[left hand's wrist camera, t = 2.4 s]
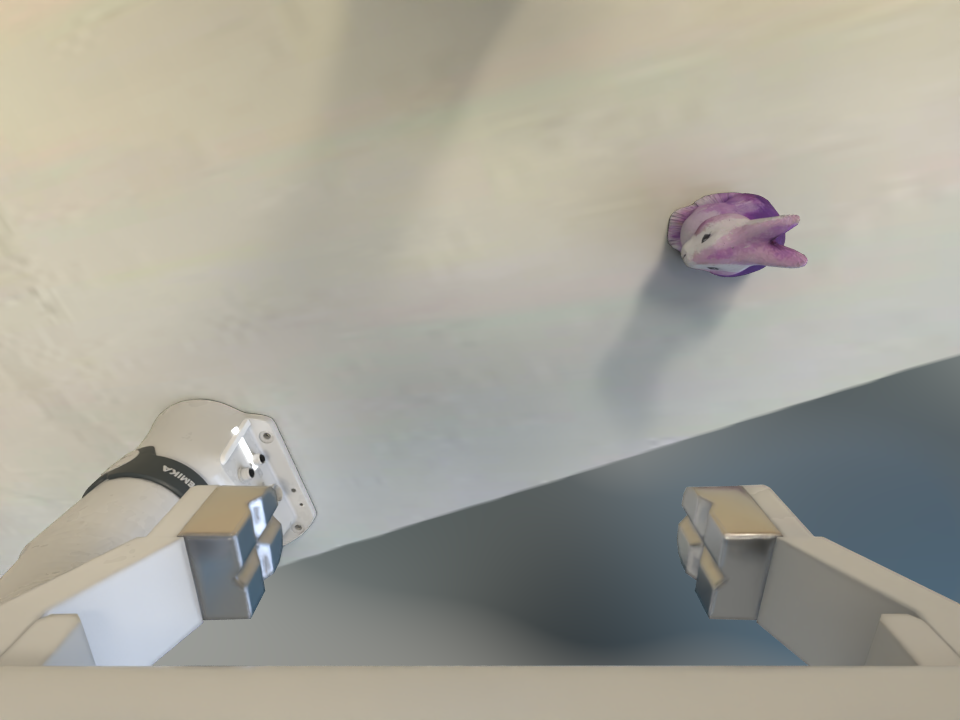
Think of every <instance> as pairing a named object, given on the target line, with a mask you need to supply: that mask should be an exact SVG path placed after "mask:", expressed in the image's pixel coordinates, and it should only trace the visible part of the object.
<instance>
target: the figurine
mask: <svg viewBox="0 0 960 720" xmlns="http://www.w3.org/2000/svg"><path fill="white" fill-rule="evenodd" d="M799 221H800V217H799V216H798V215H781V216H780V215H779V214H778V213H777V211H776V210H775V209H774V207H773V206H772V205H771V204H770V202H769V201H768V200H766V199H765V198H763V197H761V196H759V195H755V194H747V193H743V194H741V193H720V194H712V195H708V196H704V197H702V198H701V199H699V200H697V201H696V202H694V204H692V205H691V206H688V207H684V208H681V209H678V210H676V211H675V212H673V213H672V216H671V217H670V222H669V223H670V224H669V230H668V231H669V232H668V242H669V244H670V245H671V246H672V247H673V248H675V249H677V250H679V251H680V252H681V257H682V259H683V261H684V263H685V264H686V265H687V266H688V267H690V268H694V269H700V270H705V271H709V272H710V273H712V274H714V275H717V276H721V277H735V276H741V275H745V274H749V273H752V272H755V271H758V270H760V269H762V268H764V267H765V266H771V267H783V268H799V267H803V266H805V265H806V264H807V261H808V260H807V258H806V256H805V255H804V254H801V253H800V252H798V251H796V250H794V249H791V248H788V247H785V246H784V243H785V233H786V232H787V231H789V230H790V229H792V228H793V227H795V226H796V225H798V223H799Z"/></svg>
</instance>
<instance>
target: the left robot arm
mask: <svg viewBox="0 0 960 720" xmlns="http://www.w3.org/2000/svg"><path fill="white" fill-rule="evenodd" d="M277 507H278V500H277V495H276V491H275V490H274V489H273V488H272V487H271V486H233V485H222V486H220V485H197V486H193V487H191V488H190V489H189V490H188V491H187V492H186V493H185V494H184V495H183V496H182V497H181V498H180V500H179V501H178V502H177V503H176V504H175V505H174V506H173V507H172V508H171V509H170V511H169V512H168V513H167V514H166V515H165V516H164V517H163V518H162V519H161V520H160V522H159V523H158V524H157V525H156V526H155V527H154V528H153V529H152V530H151V532H150V533H149V534H148V535H147V536H146V537H136V538H134V539H132V540H130V541H128V542H126V543H124V544H122V545H120V546H118V547H116V548H114V549H111V550H109V551H107V552H105V553H103V554H101V555H99V556H97V557H95V558H93V559H91V560H89V561H87V562H85V563H83V564H81V565H79V566H77V567H75V568H73V569H71V570H68V571H66V572H64V573H62V574H60V575H58V576H56V577H54V578H52V579H50V580H48V581H46V582H44V583H42V584H40V585H38V586H36V587H34V588H32V589H30V590H28V591H25V592H23V593H21V594H19V595H17V596H15V597H13V598H11V599H9V600H7V601H5V602H3V603H1V604H0V720H960V604H959V603H957V602H955V601H953V600H951V599H948V598H946V597H944V596H942V595H940V594H938V593H936V592H934V591H932V590H930V589H928V588H926V587H924V586H922V585H920V584H918V583H916V582H914V581H912V580H910V579H908V578H906V577H904V576H902V575H899V574H897V573H895V572H893V571H891V570H889V569H887V568H885V567H883V566H881V565H879V564H877V563H875V562H873V561H871V560H869V559H867V558H865V557H863V556H861V555H859V554H857V553H855V552H853V551H850V550H848V549H846V548H844V547H842V546H840V545H838V544H836V543H834V542H832V541H830V540H828V539H826V538H824V537H814V536H813V535H812V534H811V533H810V532H809V530H808V529H807V528H806V527H805V526H804V525H803V524H802V523H801V522H800V521H799V519H798V518H797V517H796V516H795V515H794V514H793V513H792V512H791V511H790V509H789V508H788V507H787V506H786V505H785V504H784V503H783V502H782V501H781V500H780V498H779V497H778V496H777V495H776V494H775V493H774V492H773V491H772V490H771V489H770V488H769V487H767V486H765V485H743V486H717V487H687V488H686V490H685V492H684V494H683V500H682V507H683V508H684V510H685V512H686V513H687V516H686V517H685V518H684V519H683V520H682V521H681V522H680V523H679V525H678V533H677V545H678V554H679V557H680V560H681V564H682V566H683V568H684V570H685V572H686V573H687V574H688V575H690V576H691V577H692V578H694V579H695V580H697V581H696V588H695V592H696V594H697V596H698V598H699V600H700V601H701V603H702V605H703V607H704V609H705V611H706V613H707V615H708V617H709V619H735V620H757V623H758V624H759V625H760V626H762V627H763V628H764V629H765V630H766V631H768V632H769V633H770V634H771V635H772V636H774V637H775V638H776V639H777V640H778V641H780V642H781V643H782V644H783V645H785V646H786V647H787V648H788V649H789V650H791V651H792V652H793V653H794V654H795V655H797V656H798V657H799V658H800V659H801V660H803V661H804V662H805V663H806V664H808V665H809V666H152V665H153V664H154V663H155V662H156V661H158V660H159V659H160V658H161V657H162V656H164V655H165V654H166V653H167V652H168V651H170V650H171V649H172V648H173V647H174V646H176V645H177V644H178V643H179V642H181V641H182V640H183V639H184V638H185V637H187V636H188V635H189V634H190V633H191V632H193V631H194V630H195V629H196V628H197V627H199V626H200V625H201V624H202V623H203V620H224V619H251V617H252V615H253V613H254V611H255V609H256V607H257V605H258V604H259V602H260V600H261V598H262V596H263V594H264V592H265V587H264V581H263V580H265V579H266V578H268V577H269V576H270V575H272V574H273V573H274V572H275V570H276V568H277V566H278V564H279V561H280V557H281V552H282V548H283V532H282V525H281V523H280V522H279V521H278V520H277V519H276V518H275V517H274V516H273V513H274V512H275V510H276V508H277Z"/></svg>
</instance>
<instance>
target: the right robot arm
mask: <svg viewBox="0 0 960 720" xmlns="http://www.w3.org/2000/svg"><path fill="white" fill-rule="evenodd" d="M265 433H268V434H270V436H271V437H269V436H267V435H266V434H265ZM101 475H102V476H101V477H99V478H98V479H97V480H96V481H95V482H94V483H93V484H92V485H91V486H90V487H89V488H88V489H87V490H86V492H85V493H84V495H83V497H82V499H81V500H79V501H78V502H77V503H76V504H75V505H74V506H72V507H71V508H70V509H69V510H68V511H66V512H65V513H64V514H63V515H62V516H60V517H59V518H58V519H57V520H56V521H54V522H53V523H52V524H51V525H50V526H49V527H47V528H46V529H45V530H44V531H43V532H41V533H40V534H39V535H38V536H37V537H35V538H34V539H33V540H32V541H31V542H29V543H28V544H27V545H26V546H25V548H24V549H23V550H22V552H21V554H20V556H19V558H18V560H17V561H16V563H15V564H14V565H13V566H12V567H11V568H10V569H9V570H8V571H7V572H6V573H5V574H4V575H3V576H2V577H1V578H0V604H1V603H3V602H5V601H7V600H9V599H11V598H13V597H15V596H17V595H19V594H21V593H23V592H25V591H28V590H30V589H32V588H34V587H36V586H38V585H40V584H42V583H44V582H46V581H48V580H50V579H52V578H54V577H56V576H58V575H60V574H62V573H64V572H66V571H68V570H71V569H73V568H75V567H77V566H79V565H81V564H83V563H85V562H87V561H89V560H91V559H93V558H95V557H97V556H99V555H101V554H103V553H105V552H107V551H109V550H111V549H114V548H116V547H118V546H120V545H122V544H124V543H126V542H128V541H130V540H132V539H134V538H136V537H146V536H147V535H148V534H149V533H150V532H151V530H152V529H153V528H154V527H155V526H156V525H157V524H158V523H159V522H160V520H161V519H162V518H163V517H164V516H165V515H166V514H167V513H168V512H169V511H170V509H171V508H172V507H173V506H174V505H175V504H176V503H177V502H178V501H179V500H180V498H181V497H182V496H183V495H184V494H185V493H186V492H187V491H188V490H189V489H190V488H191V487H193V486H197V485H220V486H222V485H233V486H271V487H272V488H273V489H274V490H275V491H276V495H277V500H278V507H277V508H276V510H275V512H274V513H273V516H274V517H275V518H276V519H277V520H278V521H279V522H280V523H281V525H282V532H283V546H285V545H286V544H288V543H290V542H292V541H293V540H295V539H297V538H298V537H299V536H301V535H302V534H303V533H304V532H305V531H306V530H307V529H308V528H309V526H310V525H311V524H312V522H313V520H314V519H315V517H316V511H315V508H314V506H313V504H312V501H311V499H310V497H309V495H308V493H307V491H306V488H305V486H304V484H303V482H302V480H301V478H300V475H299V473H298V471H297V469H296V467H295V465H294V462H293V460H292V458H291V456H290V454H289V452H288V450H287V447H286V445H285V443H284V441H283V439H282V437H281V434H280V432H279V430H278V428H277V426H276V424H275V422H274V420H273V419H271V418H270V417H268V416H265V415H259V414H249V413H244V412H241V411H239V410H237V409H235V408H233V407H230V406H228V405H226V404H223V403H220V402H216V401H211V400H203V399H194V400H187V401H182V402H179V403H176V404H174V405H172V406H170V407H168V408H167V409H165V410H164V411H163V412H162V413H161V414H160V415H159V416H158V417H157V418H156V420H155V421H154V423H153V425H152V428H151V430H150V431H149V433H148V435H147V436H146V437H145V439H144V440H143V441H142V443H141V444H140V445H139V446H138V447H137V448H136V449H135V451H132V452H130V453H128V454H126V455H125V456H124V457H122V458H121V459H120V460H118V461H117V462H116V463H114V464H113V465H112V466H111V467H109V468H108V469H107V470H106V471H105V472H103V473H102V474H101ZM297 525H300V526H301V527H298V526H297Z"/></svg>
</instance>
